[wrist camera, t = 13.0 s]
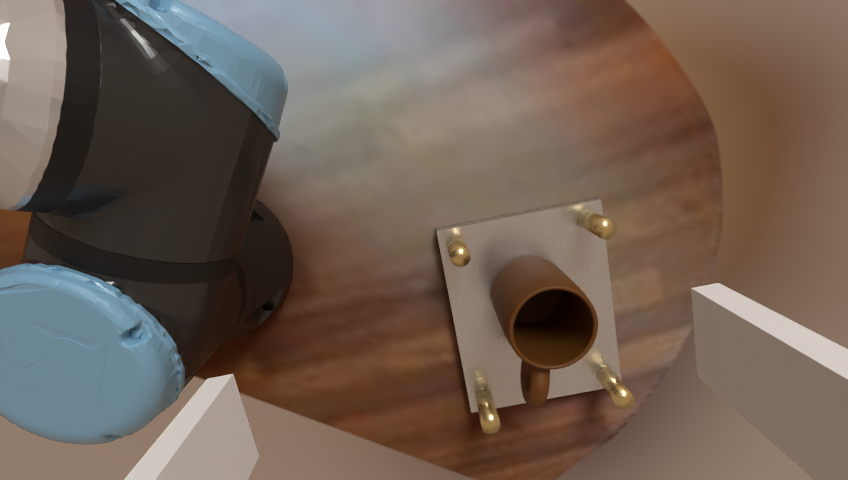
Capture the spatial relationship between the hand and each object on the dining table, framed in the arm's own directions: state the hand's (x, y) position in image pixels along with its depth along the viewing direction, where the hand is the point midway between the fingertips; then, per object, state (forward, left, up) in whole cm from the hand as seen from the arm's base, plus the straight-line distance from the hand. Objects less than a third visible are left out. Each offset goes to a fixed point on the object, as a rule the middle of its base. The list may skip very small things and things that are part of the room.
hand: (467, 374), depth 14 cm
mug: (+7, -13, -33) cm, 36 cm away
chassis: (+8, -13, -35) cm, 38 cm away
